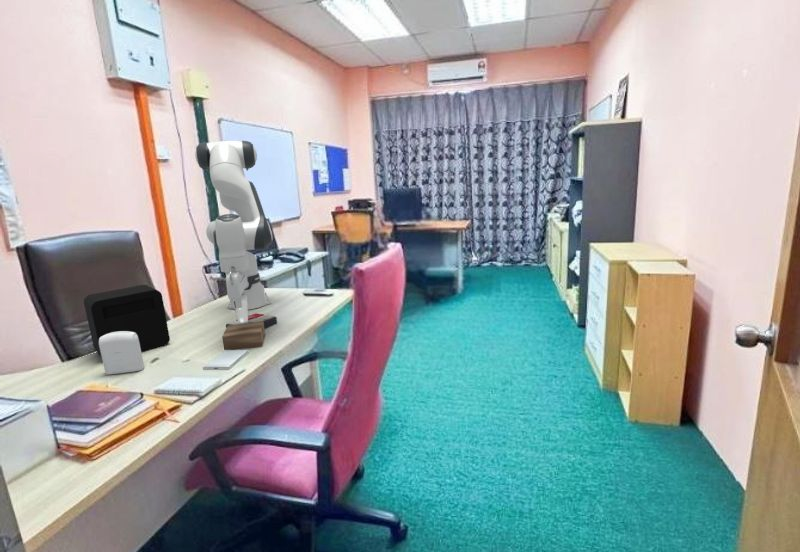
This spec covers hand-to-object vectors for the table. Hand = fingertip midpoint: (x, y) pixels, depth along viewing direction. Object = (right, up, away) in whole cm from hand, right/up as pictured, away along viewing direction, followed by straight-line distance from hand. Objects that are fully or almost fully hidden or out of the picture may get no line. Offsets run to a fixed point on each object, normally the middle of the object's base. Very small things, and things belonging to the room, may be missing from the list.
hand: (240, 305), depth 144 cm
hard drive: (0, -17, -12) cm, 21 cm away
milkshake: (0, -6, +2) cm, 6 cm away
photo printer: (-29, -19, -15) cm, 38 cm away
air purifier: (-38, -15, +4) cm, 41 cm away
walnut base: (+1, -13, +3) cm, 13 cm away
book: (-2, -10, +18) cm, 21 cm away
